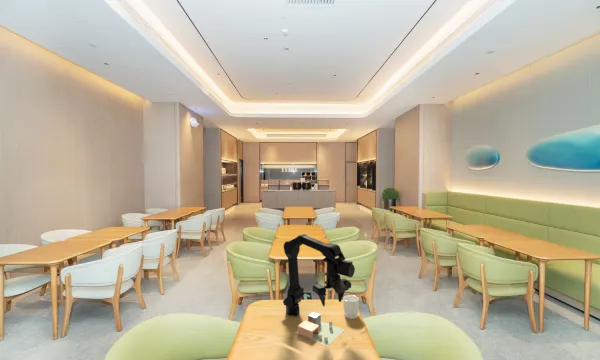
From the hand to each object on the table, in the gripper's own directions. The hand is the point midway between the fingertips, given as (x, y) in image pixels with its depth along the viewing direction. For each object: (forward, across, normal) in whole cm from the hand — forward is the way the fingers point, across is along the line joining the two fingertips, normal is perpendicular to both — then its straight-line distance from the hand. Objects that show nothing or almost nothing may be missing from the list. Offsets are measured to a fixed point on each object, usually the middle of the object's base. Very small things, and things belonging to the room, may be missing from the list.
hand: (331, 303), depth 141 cm
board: (+13, -6, +1) cm, 14 cm away
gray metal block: (+12, -6, +6) cm, 15 cm away
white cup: (+13, +16, +5) cm, 21 cm away
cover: (+12, -12, +1) cm, 17 cm away
